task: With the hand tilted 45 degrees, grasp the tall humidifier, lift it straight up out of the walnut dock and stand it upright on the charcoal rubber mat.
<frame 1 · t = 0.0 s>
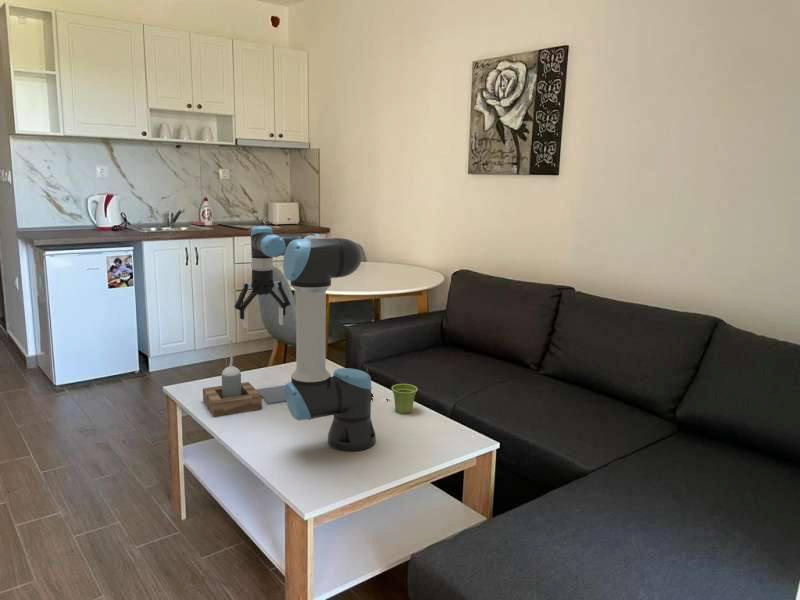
hand: (263, 326, 216), 28 cm above the table, tool pointing down, fingers open, 13 cm apart
humidifier: (232, 405, 213), resting in dock
eiffel tower figurine: (368, 400, 224), on the table
mat: (282, 394, 226), on the table
dock: (232, 405, 213), on the table
plant pot: (403, 411, 213), on the table
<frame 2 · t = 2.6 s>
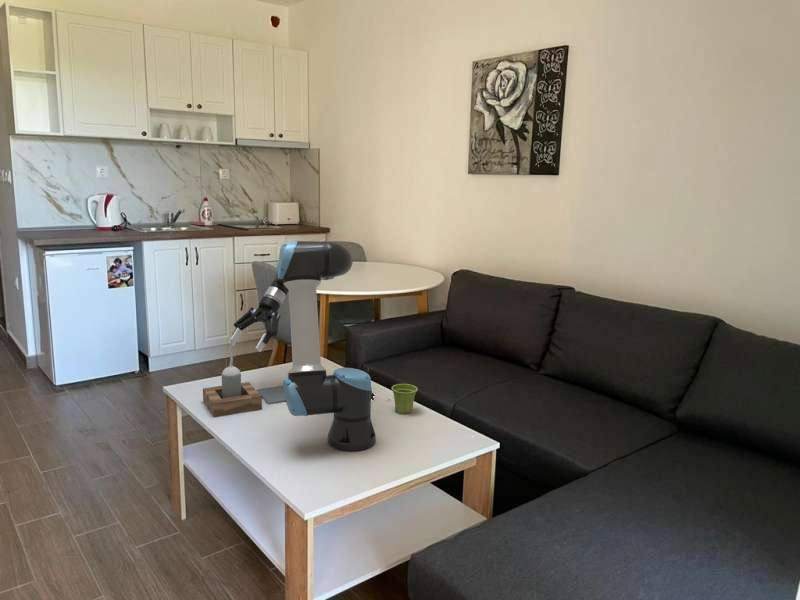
hand: (244, 347, 216), 20 cm above the table, tool tilted 45°, fingers open, 13 cm apart
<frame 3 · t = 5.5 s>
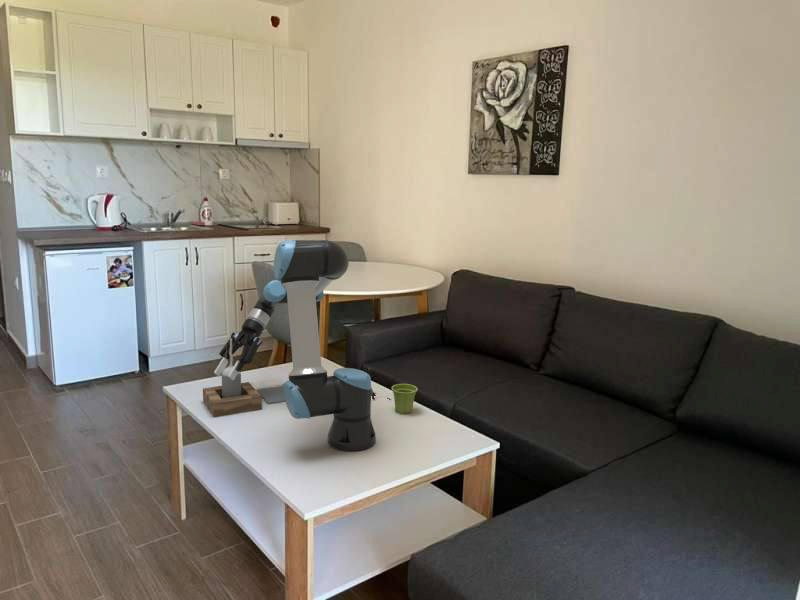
hand: (223, 376, 208), 12 cm above the table, tool tilted 45°, fingers closed on humidifier, 6 cm apart
humidifier: (232, 405, 213), resting in dock, touching gripper
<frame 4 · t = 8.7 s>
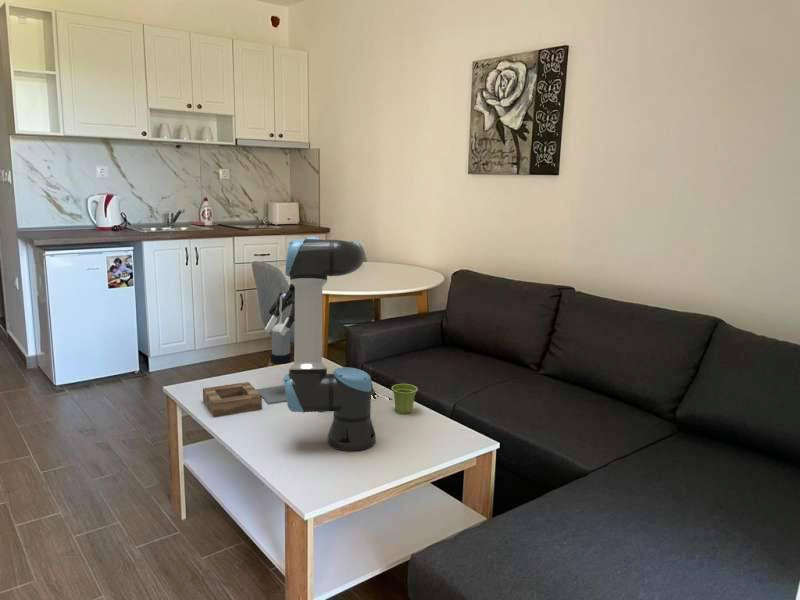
hand: (274, 332, 217), 25 cm above the table, tool tilted 45°, fingers closed on humidifier, 6 cm apart
humidifier: (281, 361, 223), point 13 cm above the table, touching gripper
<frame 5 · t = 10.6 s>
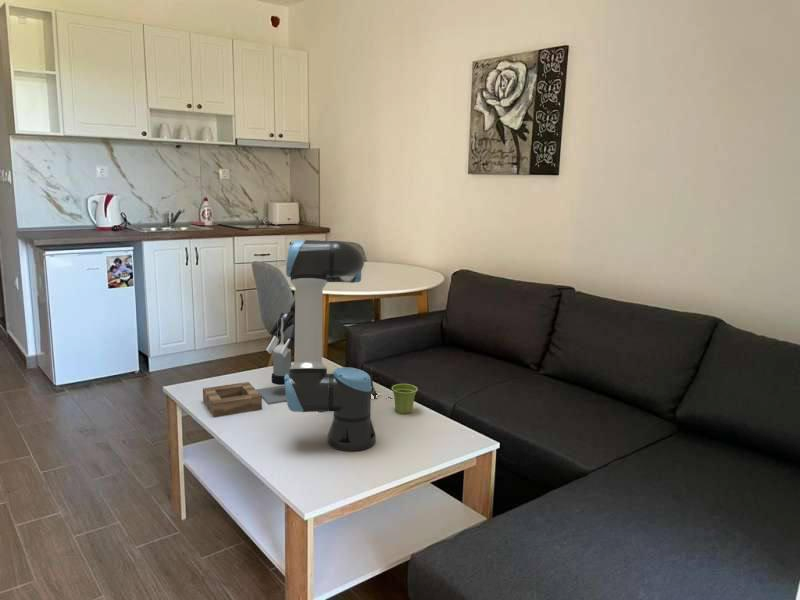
hand: (275, 353, 220), 17 cm above the table, tool tilted 45°, fingers closed on humidifier, 6 cm apart
humidifier: (282, 381, 225), point 5 cm above the table, touching gripper
when the fingers open (14 cm above the table, at t = 12.2 s): humidifier drops 1 cm, resting on mat.
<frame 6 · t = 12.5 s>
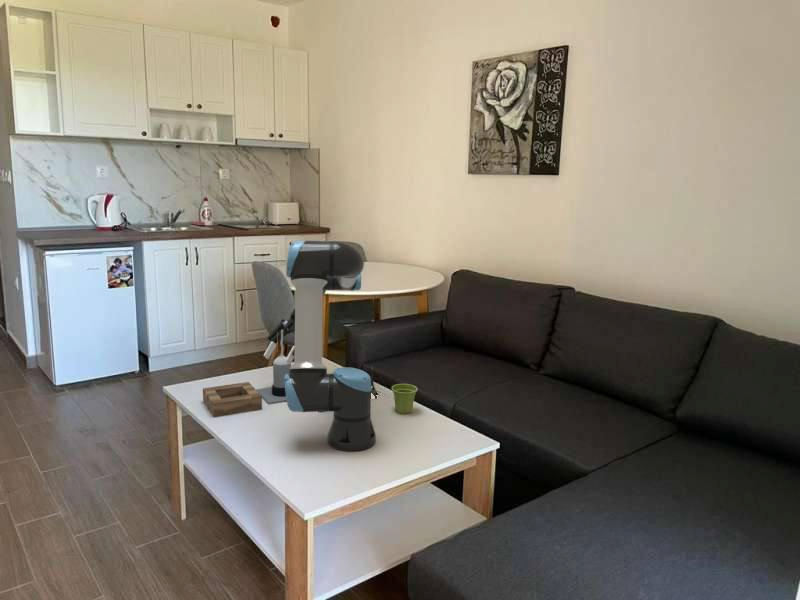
hand: (276, 359, 220), 15 cm above the table, tool tilted 45°, fingers open, 10 cm apart
humidifier: (282, 393, 225), resting on mat
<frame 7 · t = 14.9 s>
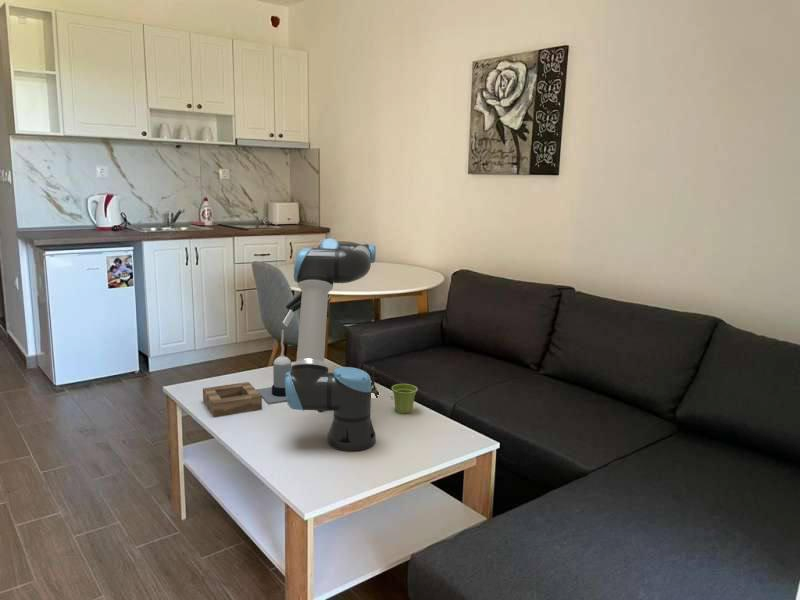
hand: (298, 327, 229), 25 cm above the table, tool tilted 45°, fingers open, 13 cm apart
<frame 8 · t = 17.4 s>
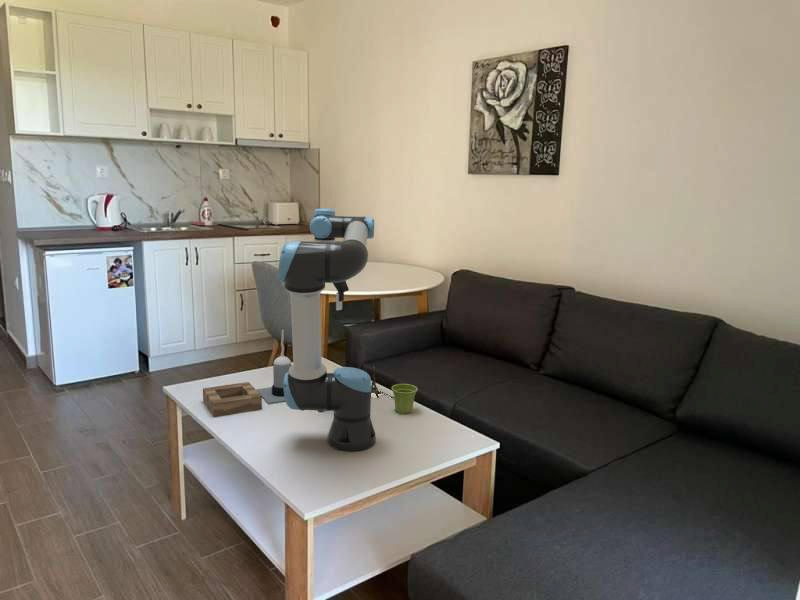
hand: (324, 307, 219), 35 cm above the table, tool pointing down, fingers open, 13 cm apart
at the end: humidifier inside the target area on the mat (0.2 cm from its centre), point 0.4 cm above the mat's base; humidifier tilted 0°; humidifier touching mat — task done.
